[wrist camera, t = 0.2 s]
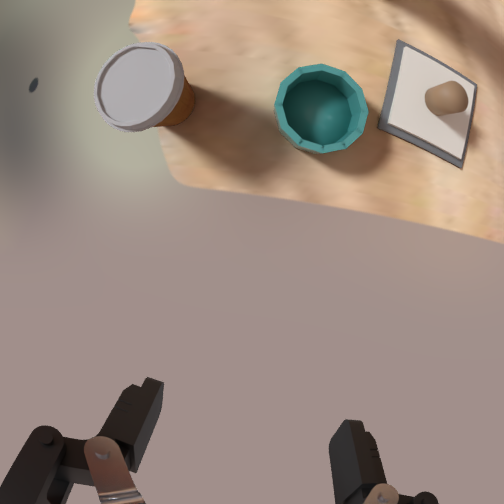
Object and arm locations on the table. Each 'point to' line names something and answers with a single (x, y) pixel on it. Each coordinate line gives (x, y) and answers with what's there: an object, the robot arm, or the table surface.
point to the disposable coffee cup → (143, 88)
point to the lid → (432, 103)
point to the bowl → (320, 109)
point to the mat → (389, 100)
